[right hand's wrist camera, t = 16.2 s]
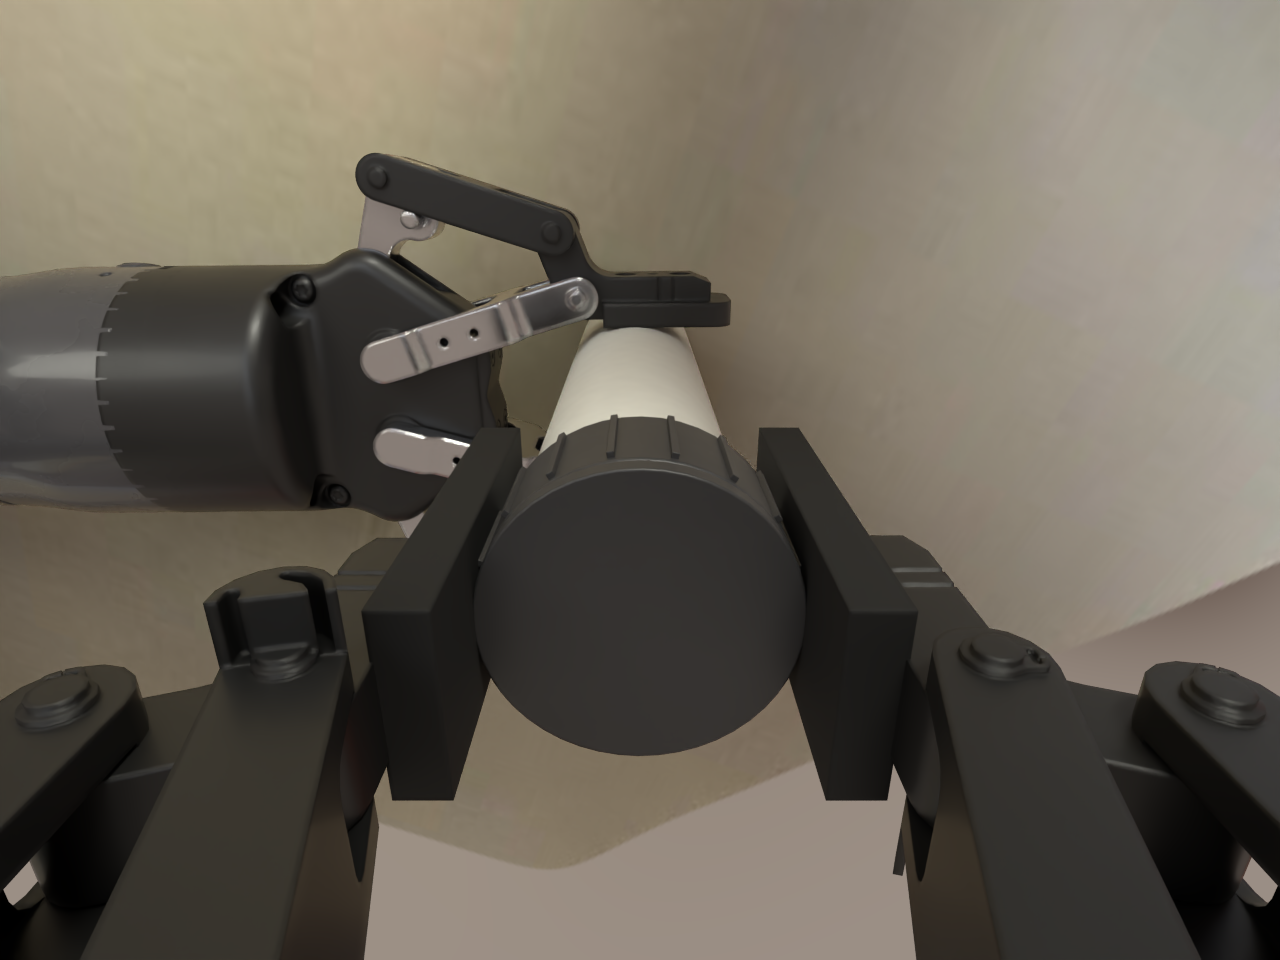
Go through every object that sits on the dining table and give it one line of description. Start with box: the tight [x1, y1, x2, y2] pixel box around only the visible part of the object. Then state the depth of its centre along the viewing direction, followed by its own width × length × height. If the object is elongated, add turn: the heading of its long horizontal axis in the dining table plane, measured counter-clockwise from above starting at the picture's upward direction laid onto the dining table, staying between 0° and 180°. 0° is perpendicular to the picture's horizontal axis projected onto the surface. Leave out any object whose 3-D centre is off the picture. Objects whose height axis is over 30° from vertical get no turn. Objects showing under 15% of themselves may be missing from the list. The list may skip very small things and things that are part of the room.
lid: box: [473, 414, 807, 756], centre depth 11 cm, size 5×5×2 cm
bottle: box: [538, 320, 722, 456], centre depth 20 cm, size 4×4×18 cm
